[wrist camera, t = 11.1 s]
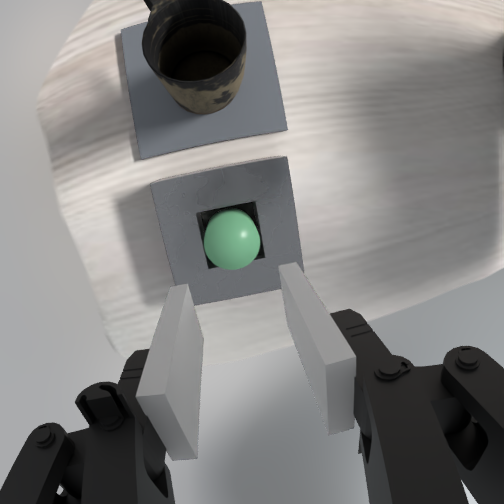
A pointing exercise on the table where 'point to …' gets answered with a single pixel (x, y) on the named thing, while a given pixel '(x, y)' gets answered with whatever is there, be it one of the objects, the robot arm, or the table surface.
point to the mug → (196, 51)
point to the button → (231, 239)
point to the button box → (222, 195)
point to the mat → (205, 125)
